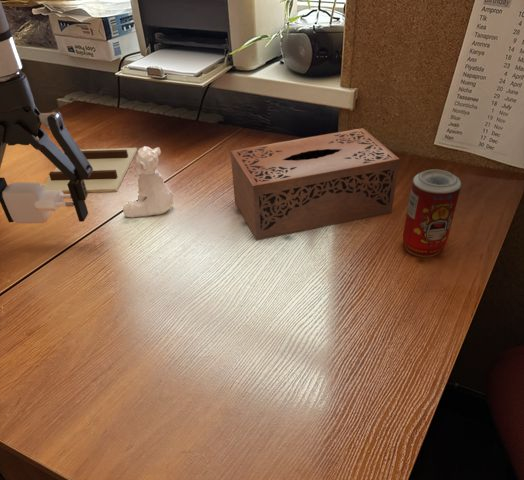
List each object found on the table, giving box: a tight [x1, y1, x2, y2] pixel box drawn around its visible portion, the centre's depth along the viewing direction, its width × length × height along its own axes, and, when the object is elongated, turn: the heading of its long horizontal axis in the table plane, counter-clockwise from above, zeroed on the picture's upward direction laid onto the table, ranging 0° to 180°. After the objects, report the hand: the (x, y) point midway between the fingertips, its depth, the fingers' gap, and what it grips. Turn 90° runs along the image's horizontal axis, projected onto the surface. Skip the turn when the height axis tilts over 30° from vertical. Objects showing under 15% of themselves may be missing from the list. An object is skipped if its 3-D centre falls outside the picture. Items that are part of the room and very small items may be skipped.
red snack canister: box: [402, 168, 462, 258], centre depth 79 cm, size 7×7×12 cm
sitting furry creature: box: [122, 145, 174, 219], centre depth 92 cm, size 10×9×12 cm
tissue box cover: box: [229, 127, 400, 241], centre depth 91 cm, size 26×14×10 cm, turn 107°
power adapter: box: [2, 181, 74, 224], centre depth 82 cm, size 11×5×6 cm, turn 87°
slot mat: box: [42, 147, 138, 194], centre depth 109 cm, size 16×20×2 cm
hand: (49, 217), depth 84 cm, fingers closed on power adapter, 11 cm apart
